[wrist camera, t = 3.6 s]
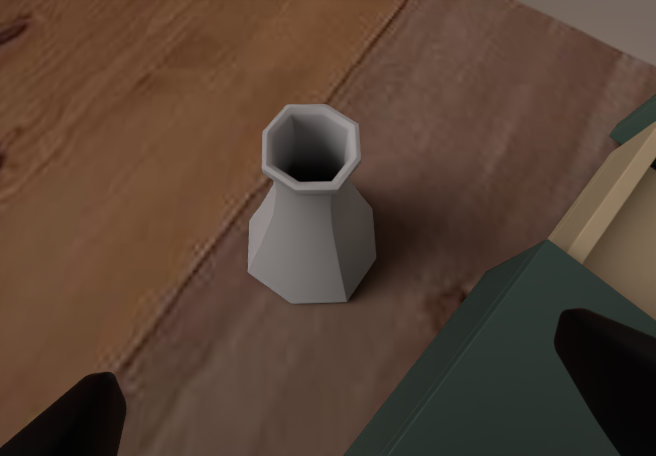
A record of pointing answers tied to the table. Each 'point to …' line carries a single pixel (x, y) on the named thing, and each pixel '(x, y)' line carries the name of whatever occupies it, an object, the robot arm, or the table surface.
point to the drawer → (619, 214)
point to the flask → (311, 208)
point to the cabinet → (502, 370)
